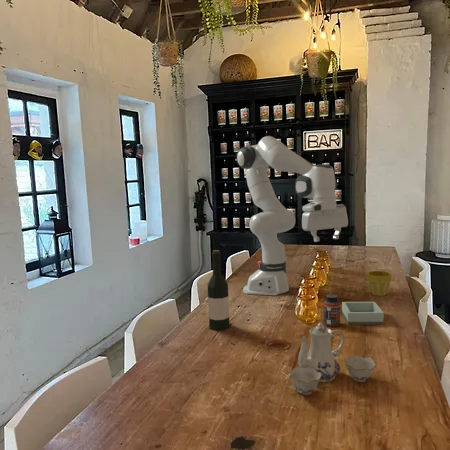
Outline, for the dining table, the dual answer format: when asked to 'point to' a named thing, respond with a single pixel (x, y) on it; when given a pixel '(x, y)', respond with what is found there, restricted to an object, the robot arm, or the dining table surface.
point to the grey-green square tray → (362, 313)
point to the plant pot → (379, 282)
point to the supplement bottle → (332, 311)
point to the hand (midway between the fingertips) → (326, 240)
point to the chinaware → (325, 362)
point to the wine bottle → (218, 296)
